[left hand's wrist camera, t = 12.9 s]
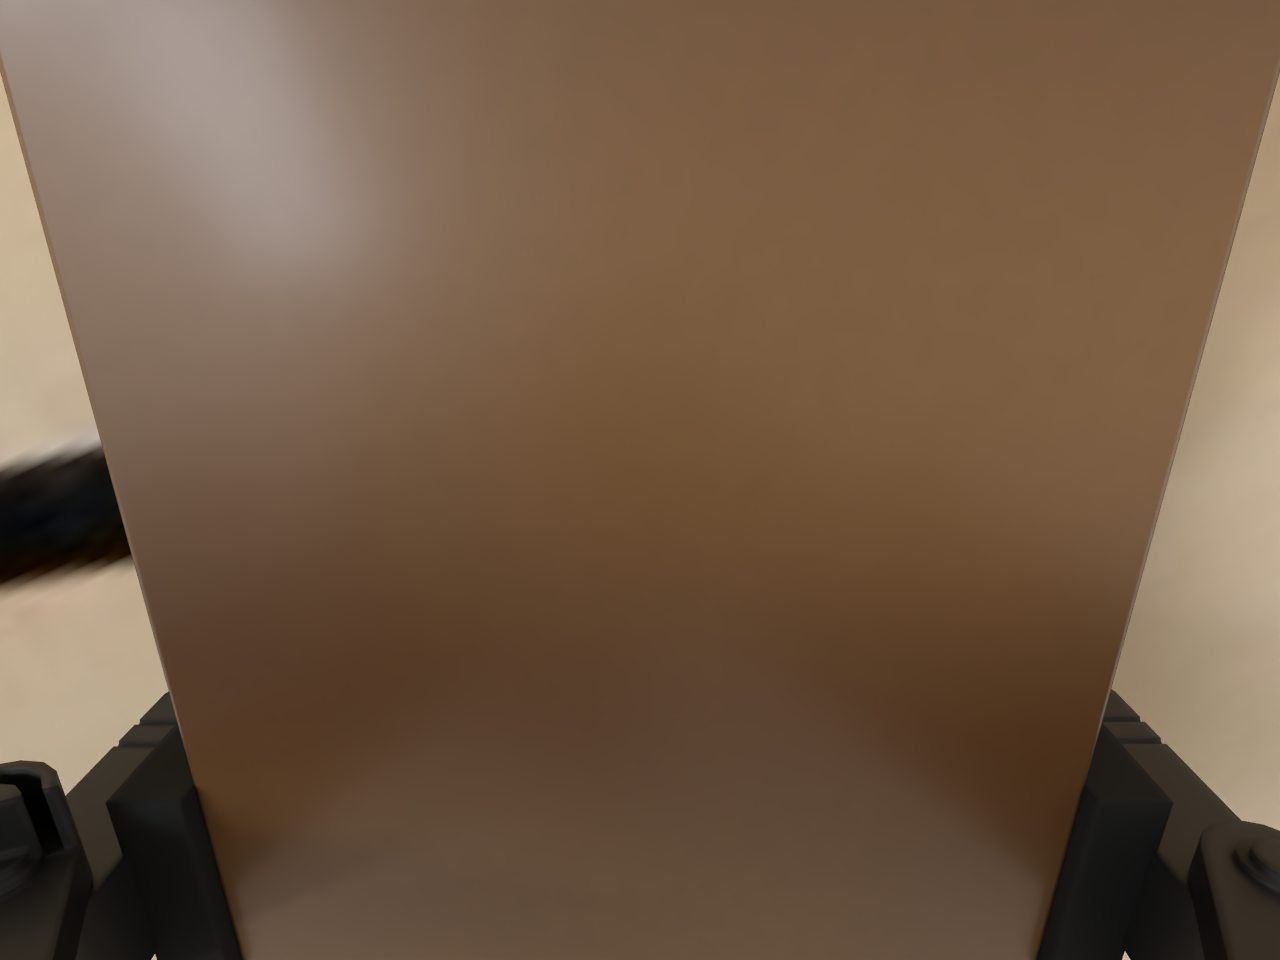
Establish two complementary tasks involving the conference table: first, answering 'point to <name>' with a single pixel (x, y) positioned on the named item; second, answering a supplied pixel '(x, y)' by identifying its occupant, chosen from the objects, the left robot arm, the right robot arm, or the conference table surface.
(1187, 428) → the conference table surface
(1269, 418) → the conference table surface
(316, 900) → the brown wooden beam
